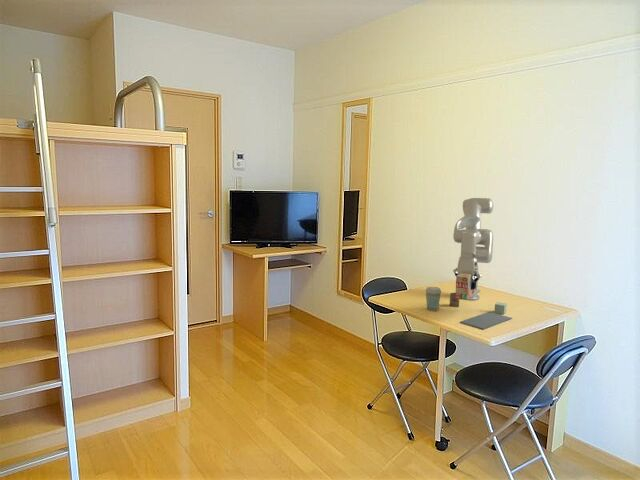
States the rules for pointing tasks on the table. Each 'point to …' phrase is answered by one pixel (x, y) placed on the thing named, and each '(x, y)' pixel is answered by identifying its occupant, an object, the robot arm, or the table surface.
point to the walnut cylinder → (453, 300)
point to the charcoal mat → (485, 320)
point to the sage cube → (500, 308)
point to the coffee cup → (433, 298)
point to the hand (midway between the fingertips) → (466, 287)
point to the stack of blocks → (464, 286)
